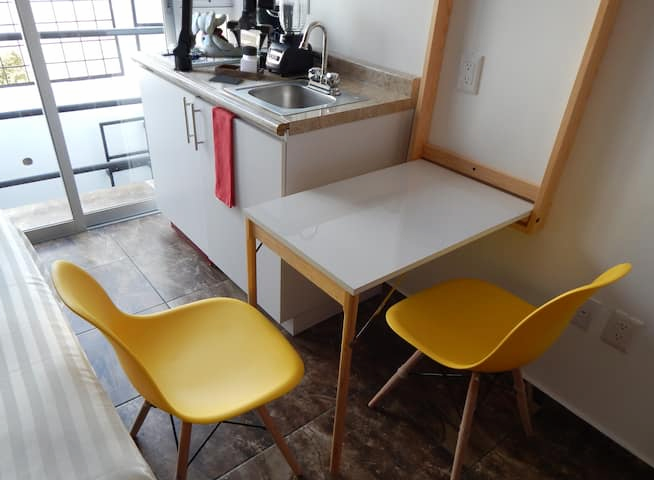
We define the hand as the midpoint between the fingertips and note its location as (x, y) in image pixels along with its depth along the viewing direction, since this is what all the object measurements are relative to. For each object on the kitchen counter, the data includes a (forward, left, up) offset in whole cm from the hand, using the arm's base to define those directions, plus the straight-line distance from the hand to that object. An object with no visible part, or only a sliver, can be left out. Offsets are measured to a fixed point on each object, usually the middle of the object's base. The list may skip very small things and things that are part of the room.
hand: (249, 49), depth 207 cm
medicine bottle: (0, 0, -11) cm, 11 cm away
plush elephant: (-31, +34, -12) cm, 47 cm away
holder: (-5, 0, -11) cm, 12 cm away
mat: (-7, -11, -11) cm, 17 cm away
